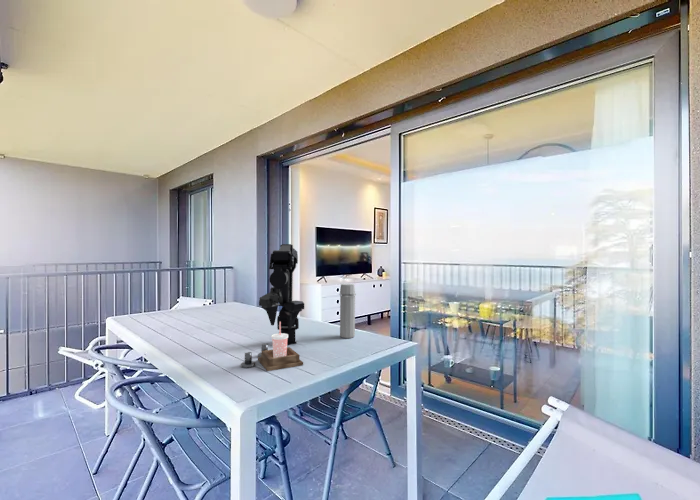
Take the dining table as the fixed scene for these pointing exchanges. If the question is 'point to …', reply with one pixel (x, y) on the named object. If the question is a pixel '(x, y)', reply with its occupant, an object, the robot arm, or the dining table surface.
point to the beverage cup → (279, 343)
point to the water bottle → (347, 310)
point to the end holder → (279, 360)
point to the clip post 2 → (263, 348)
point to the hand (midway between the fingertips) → (280, 327)
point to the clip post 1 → (248, 361)
